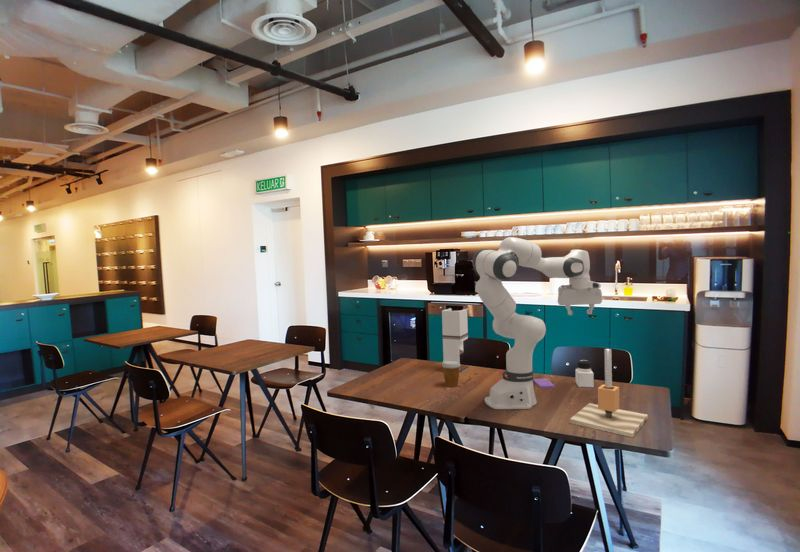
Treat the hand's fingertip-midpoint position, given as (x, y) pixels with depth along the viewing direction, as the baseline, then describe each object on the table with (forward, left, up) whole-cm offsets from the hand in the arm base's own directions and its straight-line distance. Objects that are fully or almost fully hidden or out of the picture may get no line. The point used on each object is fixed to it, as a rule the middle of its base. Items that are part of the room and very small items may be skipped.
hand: (579, 314), depth 198 cm
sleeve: (-8, -33, -32) cm, 46 cm away
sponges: (-10, +16, -38) cm, 42 cm away
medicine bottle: (+8, +10, -37) cm, 39 cm away
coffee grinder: (-45, +52, -37) cm, 79 cm away
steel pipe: (-8, -33, -35) cm, 49 cm away
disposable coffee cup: (-55, +26, -37) cm, 71 cm away
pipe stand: (-8, -33, -37) cm, 50 cm away
